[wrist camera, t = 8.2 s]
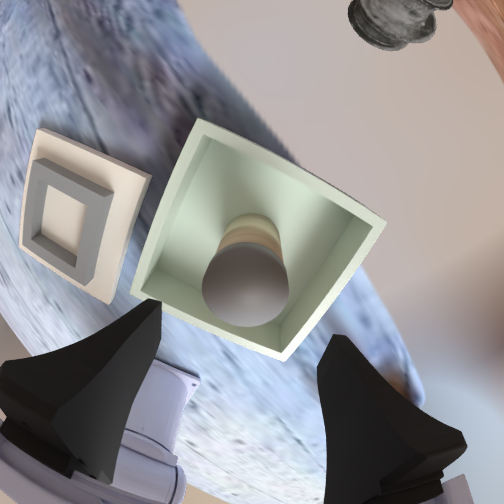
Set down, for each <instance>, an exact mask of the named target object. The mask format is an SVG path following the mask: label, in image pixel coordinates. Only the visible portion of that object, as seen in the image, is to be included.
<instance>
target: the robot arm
mask: <svg viewBox="0 0 504 504" xmlns="http://www.w3.org/2000/svg"><path fill="white" fill-rule="evenodd" d="M161 320H162V301H158V300H154V299H150V298H148V299H146V300H145V301H143V302H142V303H140V304H139V305H137V306H136V307H135V308H133V309H132V310H130V311H129V312H128V313H126V314H125V315H123V316H122V317H120V318H119V319H117V320H116V321H114V322H113V323H111V324H110V325H108V326H106V327H105V328H103V329H101V330H100V331H98V332H96V333H95V334H93V335H91V336H89V337H87V338H85V339H83V340H81V341H79V342H76V343H74V344H71V345H69V346H66V347H63V348H61V349H58V350H55V351H52V352H49V353H45V354H42V355H38V356H33V357H29V358H23V359H16V360H9V361H5V362H4V363H3V364H2V366H1V367H0V408H1V410H2V411H3V412H4V414H5V415H6V416H7V418H6V419H5V421H4V422H3V421H2V420H1V419H0V489H1V490H2V491H3V492H4V493H5V494H7V495H8V496H9V497H10V498H11V499H12V500H14V501H15V502H17V503H18V504H182V502H183V499H184V496H185V492H186V484H187V481H186V476H185V474H184V471H183V469H182V467H180V466H179V465H176V463H177V459H178V456H176V455H173V451H174V447H175V443H176V439H177V435H178V431H179V427H180V423H181V419H182V415H183V411H184V407H185V405H186V404H187V402H188V401H189V399H190V398H191V397H192V395H193V394H194V392H195V391H196V389H197V388H198V386H199V385H200V382H201V380H200V379H199V378H197V377H195V376H193V375H190V374H188V373H185V372H183V371H180V370H178V369H176V368H174V367H171V366H169V365H167V364H165V363H162V362H160V361H158V360H156V359H154V358H155V355H156V352H157V349H158V346H159V343H160V340H161ZM317 383H318V391H319V397H320V403H321V408H322V414H323V419H324V425H325V432H326V447H327V471H326V487H325V496H324V504H474V503H473V499H472V496H471V493H470V490H469V487H468V483H467V480H466V478H465V475H464V474H462V475H460V476H457V477H455V478H452V479H450V480H448V481H446V482H444V483H442V484H441V481H440V479H441V478H443V476H444V474H443V471H442V470H443V469H444V468H446V467H447V466H448V465H450V464H451V463H453V462H454V461H455V460H456V459H458V458H459V457H460V456H461V455H462V454H463V453H464V452H465V450H466V449H467V444H466V441H465V439H464V437H463V434H462V432H461V431H459V430H457V429H455V428H453V427H450V426H448V425H446V424H444V423H442V422H440V421H438V420H436V419H434V418H433V417H431V416H429V415H428V414H426V413H425V412H423V411H422V410H420V409H419V408H418V407H416V406H415V405H413V404H412V403H411V402H409V401H408V400H407V399H406V398H404V397H403V396H402V395H401V394H400V393H399V392H397V391H396V390H395V389H394V388H393V387H392V386H391V385H390V384H389V383H388V382H387V381H386V380H385V379H384V378H383V377H382V376H381V375H380V374H379V373H378V372H377V370H376V369H375V368H374V367H373V366H372V365H371V364H370V363H369V361H368V360H367V359H366V358H365V357H364V356H363V354H362V353H361V352H360V351H359V350H358V348H357V347H356V346H355V345H354V344H353V343H352V342H351V340H350V339H349V338H348V337H347V336H345V335H337V334H333V335H332V338H331V340H330V342H329V344H328V346H327V348H326V350H325V352H324V354H323V356H322V358H321V360H320V362H319V364H318V366H317Z"/></svg>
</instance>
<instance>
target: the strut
mask: <svg viewBox="0 0 504 504" xmlns="http://www.w3.org/2000/svg"><path fill="white" fill-rule="evenodd" d="M202 295H203V298H204V301H205V303H206V305H207V307H208V308H209V309H210V311H211V312H212V313H213V314H214V315H215V316H217V317H218V318H219V319H221V320H223V321H225V322H227V323H229V324H232V325H236V326H241V327H253V326H259V325H262V324H265V323H267V322H269V321H271V320H273V319H274V318H276V317H277V316H278V315H279V314H280V313H281V312H282V310H283V309H284V307H285V306H286V303H287V301H288V297H289V283H288V276H287V271H286V268H285V265H284V262H283V255H282V248H281V241H280V235H279V231H278V229H277V227H276V226H275V224H274V223H273V222H272V221H271V220H270V219H268V218H267V217H265V216H263V215H260V214H256V213H247V214H242V215H240V216H238V217H236V218H234V219H233V220H232V221H231V222H230V223H229V224H228V226H227V227H226V230H225V232H224V234H223V237H222V239H221V241H220V244H219V246H218V248H217V251H216V253H215V255H214V257H213V258H212V259H211V261H210V263H209V265H208V267H207V270H206V272H205V275H204V277H203V281H202Z"/></svg>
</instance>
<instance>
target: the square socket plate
mask: <svg viewBox="0 0 504 504" xmlns="http://www.w3.org/2000/svg"><path fill="white" fill-rule="evenodd" d="M151 179H152V175H150V174H148V173H146V172H143V171H141V170H139V169H137V168H135V167H133V166H130V165H128V164H126V163H124V162H122V161H119V160H117V159H115V158H113V157H111V156H108V155H106V154H104V153H102V152H99V151H97V150H95V149H93V148H90V147H88V146H86V145H84V144H81V143H79V142H77V141H74V140H72V139H70V138H67V137H65V136H63V135H61V134H58V133H56V132H53V131H51V130H49V129H46V128H41V129H37V130H36V134H35V137H34V141H33V145H32V150H31V154H30V159H29V164H28V169H27V174H26V180H25V186H24V193H23V201H22V210H21V220H20V235H19V248H21V249H22V250H23V251H25V252H26V253H28V254H29V255H30V256H32V257H33V258H35V259H36V260H37V261H39V262H40V263H42V264H43V265H45V266H46V267H47V268H49V269H50V270H52V271H53V272H55V273H56V274H58V275H59V276H61V277H63V278H64V279H66V280H67V281H69V282H70V283H72V284H74V285H75V286H77V287H78V288H80V289H82V290H83V291H85V292H87V293H88V294H90V295H92V296H93V297H95V298H97V299H99V300H100V301H102V302H104V303H106V304H107V305H109V304H110V303H111V302H112V300H113V299H114V297H115V293H116V289H117V285H118V281H119V277H120V273H121V270H122V266H123V262H124V259H125V255H126V252H127V248H128V245H129V242H130V239H131V235H132V232H133V229H134V226H135V223H136V220H137V217H138V214H139V211H140V208H141V205H142V203H143V200H144V197H145V194H146V192H147V189H148V186H149V184H150V181H151Z"/></svg>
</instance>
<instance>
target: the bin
mask: <svg viewBox="0 0 504 504" xmlns="http://www.w3.org/2000/svg"><path fill="white" fill-rule="evenodd" d="M247 213H256V214H260V215H263V216H265V217H267V218H268V219H270V220H271V221H272V222H273V223H274V224H275V226H276V227H277V229H278V231H279V235H280V241H281V248H282V255H283V262H284V265H285V268H286V271H287V276H288V283H289V297H288V301H287V303H286V306H285V307H284V309H283V310H282V312H281V313H280V314H279V315H278V316H277V317H276V318H274V319H273V320H271V321H269V322H267V323H265V324H262V325H259V326H253V327H241V326H236V325H232V324H229V323H227V322H225V321H223V320H221V319H219V318H218V317H217V316H215V315H214V314H213V313H212V312H211V311H210V309H209V308H208V307H207V305H206V303H205V301H204V298H203V295H202V281H203V277H204V275H205V272H206V270H207V267H208V265H209V263H210V261H211V259H212V258H213V257H214V255H215V253H216V251H217V248H218V246H219V244H220V241H221V239H222V237H223V234H224V232H225V230H226V227H227V226H228V224H229V223H230V222H231V221H232V220H233V219H234V218H236V217H238V216H240V215H242V214H247ZM386 224H387V222H386V221H385V220H383V219H382V218H381V217H379V216H378V215H377V214H376V213H374V212H373V211H372V210H370V209H369V208H367V207H366V206H365V205H363V204H361V203H360V202H358V201H357V200H355V199H354V198H352V197H351V196H349V195H347V194H346V193H344V192H343V191H341V190H339V189H338V188H336V187H334V186H333V185H331V184H330V183H328V182H326V181H325V180H323V179H321V178H319V177H318V176H316V175H314V174H313V173H311V172H309V171H307V170H306V169H304V168H302V167H300V166H298V165H297V164H295V163H293V162H291V161H289V160H288V159H286V158H284V157H282V156H280V155H278V154H276V153H274V152H272V151H271V150H269V149H267V148H265V147H263V146H261V145H259V144H257V143H255V142H253V141H251V140H249V139H247V138H245V137H243V136H240V135H238V134H236V133H234V132H232V131H230V130H228V129H226V128H223V127H221V126H219V125H217V124H214V123H212V122H210V121H206V120H203V119H200V118H197V120H196V122H195V124H194V126H193V128H192V130H191V133H190V135H189V137H188V139H187V141H186V143H185V145H184V147H183V150H182V152H181V154H180V156H179V158H178V161H177V163H176V165H175V168H174V170H173V172H172V175H171V177H170V179H169V182H168V184H167V186H166V189H165V191H164V194H163V196H162V199H161V201H160V204H159V207H158V209H157V212H156V214H155V217H154V220H153V223H152V225H151V228H150V231H149V234H148V237H147V239H146V242H145V245H144V248H143V251H142V254H141V257H140V260H139V263H138V267H137V270H136V273H135V276H134V280H133V283H132V286H131V290H130V293H129V294H131V295H133V296H134V297H136V298H138V299H140V300H142V301H145V300H146V299H148V298H150V299H154V300H158V301H162V311H164V312H166V313H168V314H170V315H172V316H175V317H177V318H179V319H181V320H183V321H185V322H187V323H190V324H192V325H194V326H196V327H199V328H201V329H203V330H205V331H208V332H210V333H212V334H215V335H217V336H219V337H222V338H224V339H226V340H229V341H231V342H234V343H236V344H239V345H241V346H244V347H246V348H249V349H251V350H254V351H256V352H259V353H262V354H264V355H267V356H270V357H273V358H275V359H278V360H281V361H284V362H285V361H286V360H287V359H288V357H289V356H290V355H291V354H292V353H293V352H294V350H295V349H296V348H297V347H298V346H299V344H300V343H301V342H302V341H303V340H304V338H305V337H306V336H307V335H308V333H309V332H310V331H311V330H312V328H313V327H314V326H315V325H316V323H317V322H318V321H319V320H320V318H321V317H322V316H323V314H324V313H325V312H326V311H327V309H328V308H329V307H330V305H331V304H332V303H333V301H334V300H335V299H336V297H337V296H338V295H339V293H340V292H341V291H342V289H343V288H344V286H345V285H346V284H347V282H348V281H349V279H350V278H351V277H352V275H353V274H354V272H355V271H356V270H357V268H358V267H359V265H360V264H361V262H362V261H363V259H364V258H365V256H366V255H367V253H368V252H369V250H370V249H371V247H372V245H373V244H374V243H375V241H376V240H377V238H378V237H379V235H380V234H381V232H382V230H383V229H384V227H385V225H386Z"/></svg>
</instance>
